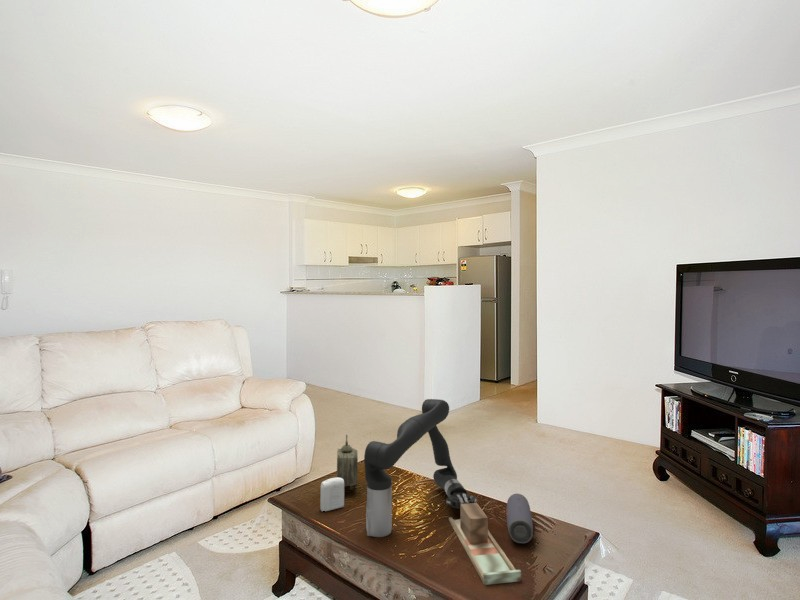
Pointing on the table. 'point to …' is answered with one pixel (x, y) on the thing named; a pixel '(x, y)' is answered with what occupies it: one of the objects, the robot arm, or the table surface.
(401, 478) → the table surface
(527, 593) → the table surface
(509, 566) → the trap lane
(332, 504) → the photo printer
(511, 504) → the bluetooth speaker
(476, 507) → the walnut block
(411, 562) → the table surface
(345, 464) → the grey-brown tall piece
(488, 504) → the table surface
